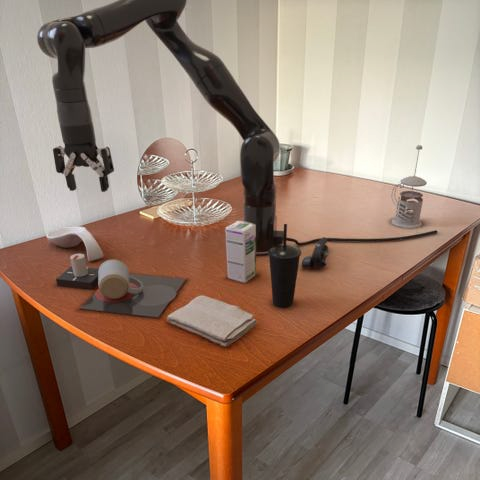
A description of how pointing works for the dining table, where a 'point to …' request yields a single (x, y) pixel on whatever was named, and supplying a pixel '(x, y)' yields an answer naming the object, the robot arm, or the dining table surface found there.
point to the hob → (139, 297)
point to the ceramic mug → (116, 280)
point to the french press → (409, 202)
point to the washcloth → (213, 320)
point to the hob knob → (79, 265)
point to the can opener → (317, 255)
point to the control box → (78, 279)
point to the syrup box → (241, 251)
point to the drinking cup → (283, 272)
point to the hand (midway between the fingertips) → (88, 190)
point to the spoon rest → (76, 240)
